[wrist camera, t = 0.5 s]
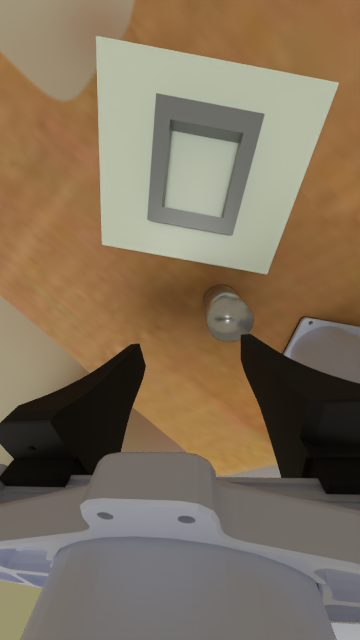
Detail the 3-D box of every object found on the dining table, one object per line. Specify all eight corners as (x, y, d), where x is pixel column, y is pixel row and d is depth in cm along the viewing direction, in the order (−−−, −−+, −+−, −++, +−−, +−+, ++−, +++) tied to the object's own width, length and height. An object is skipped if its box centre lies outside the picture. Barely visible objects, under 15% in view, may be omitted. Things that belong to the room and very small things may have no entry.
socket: (334, 88, 13) (356, 63, 11) (265, 273, 19) (273, 277, 17) (99, 43, 13) (84, 10, 11) (104, 244, 19) (94, 245, 17)
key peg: (241, 287, 20) (260, 305, 14) (231, 318, 22) (245, 345, 16) (207, 281, 20) (213, 297, 14) (200, 313, 22) (203, 337, 16)
